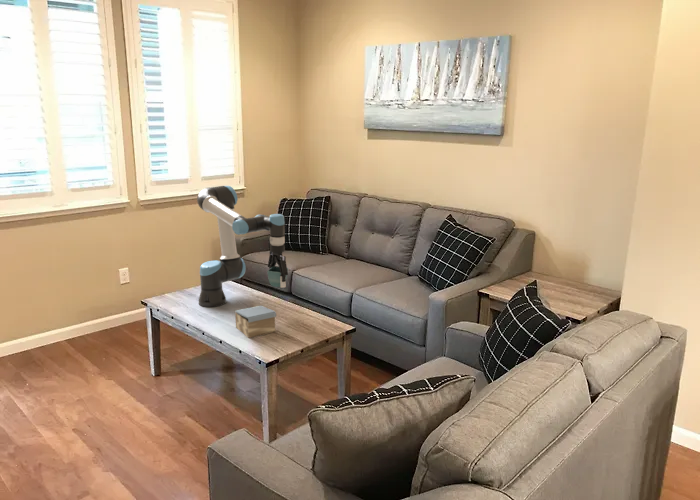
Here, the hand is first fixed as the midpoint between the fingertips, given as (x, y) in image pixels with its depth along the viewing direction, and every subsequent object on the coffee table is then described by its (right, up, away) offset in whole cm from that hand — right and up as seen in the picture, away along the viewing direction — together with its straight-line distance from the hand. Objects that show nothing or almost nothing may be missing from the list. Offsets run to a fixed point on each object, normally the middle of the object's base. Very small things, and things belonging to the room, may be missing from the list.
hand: (277, 284), depth 296 cm
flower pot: (0, -1, 0) cm, 1 cm away
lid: (-9, -15, -18) cm, 25 cm away
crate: (-9, -22, -16) cm, 28 cm away
